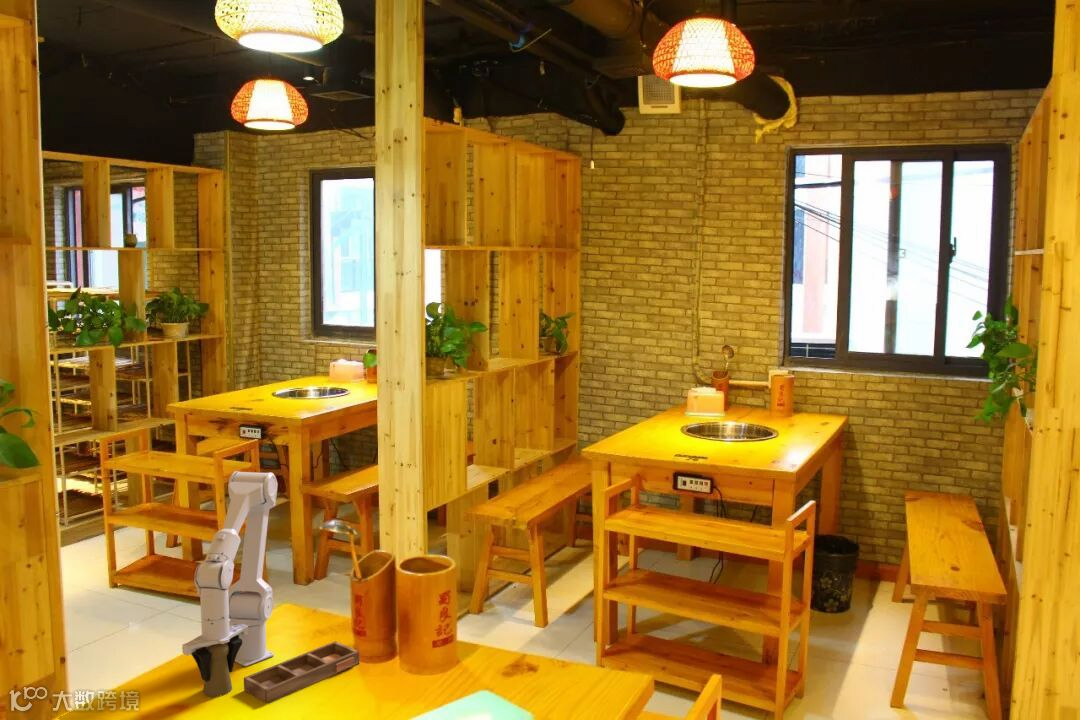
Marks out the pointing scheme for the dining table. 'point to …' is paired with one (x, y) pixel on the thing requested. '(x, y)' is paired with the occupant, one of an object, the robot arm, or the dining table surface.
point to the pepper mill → (218, 671)
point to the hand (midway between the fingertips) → (217, 675)
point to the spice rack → (300, 671)
